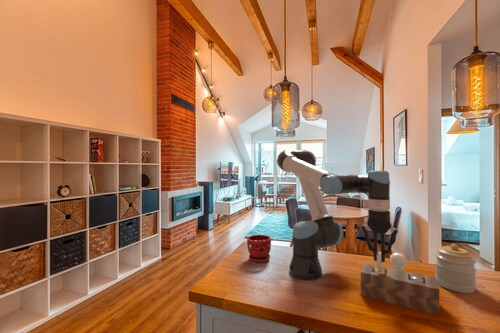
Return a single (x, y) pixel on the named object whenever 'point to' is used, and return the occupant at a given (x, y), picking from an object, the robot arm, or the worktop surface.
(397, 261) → the lightbulb
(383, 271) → the brass peg
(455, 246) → the jar
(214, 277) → the worktop surface
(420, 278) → the steel peg
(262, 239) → the plant pot
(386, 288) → the socket block
